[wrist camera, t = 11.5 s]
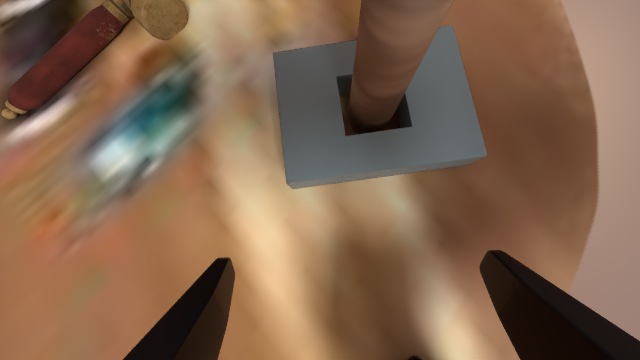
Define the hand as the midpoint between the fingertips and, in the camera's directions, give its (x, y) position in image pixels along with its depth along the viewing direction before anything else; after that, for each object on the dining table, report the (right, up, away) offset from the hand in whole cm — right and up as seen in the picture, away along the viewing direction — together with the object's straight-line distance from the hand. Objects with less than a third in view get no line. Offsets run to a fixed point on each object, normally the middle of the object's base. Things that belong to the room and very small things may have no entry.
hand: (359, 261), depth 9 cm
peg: (+3, +9, +15) cm, 18 cm away
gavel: (-26, +16, +19) cm, 36 cm away
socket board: (+3, +9, +15) cm, 18 cm away
